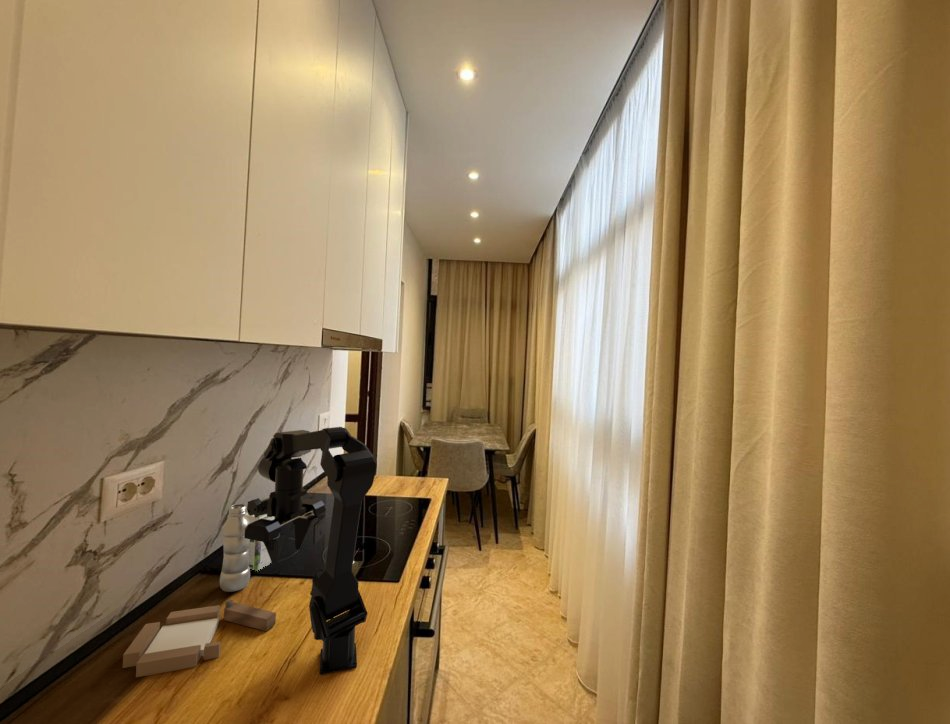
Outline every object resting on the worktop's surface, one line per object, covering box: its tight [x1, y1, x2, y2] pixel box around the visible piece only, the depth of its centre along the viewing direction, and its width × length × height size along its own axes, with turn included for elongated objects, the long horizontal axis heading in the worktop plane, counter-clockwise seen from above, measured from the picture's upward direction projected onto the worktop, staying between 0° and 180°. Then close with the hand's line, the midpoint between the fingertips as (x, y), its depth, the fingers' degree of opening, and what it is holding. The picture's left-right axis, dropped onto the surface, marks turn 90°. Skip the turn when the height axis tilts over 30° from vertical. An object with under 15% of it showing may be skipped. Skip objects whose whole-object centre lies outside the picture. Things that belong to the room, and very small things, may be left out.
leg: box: [223, 599, 277, 632], centre depth 86 cm, size 12×2×3 cm, turn 74°
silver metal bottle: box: [219, 503, 251, 593], centre depth 99 cm, size 6×7×20 cm
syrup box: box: [245, 512, 275, 572], centre depth 110 cm, size 6×6×14 cm
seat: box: [122, 604, 221, 678], centre depth 79 cm, size 15×15×2 cm
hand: (286, 556), depth 91 cm, fingers open, 7 cm apart
